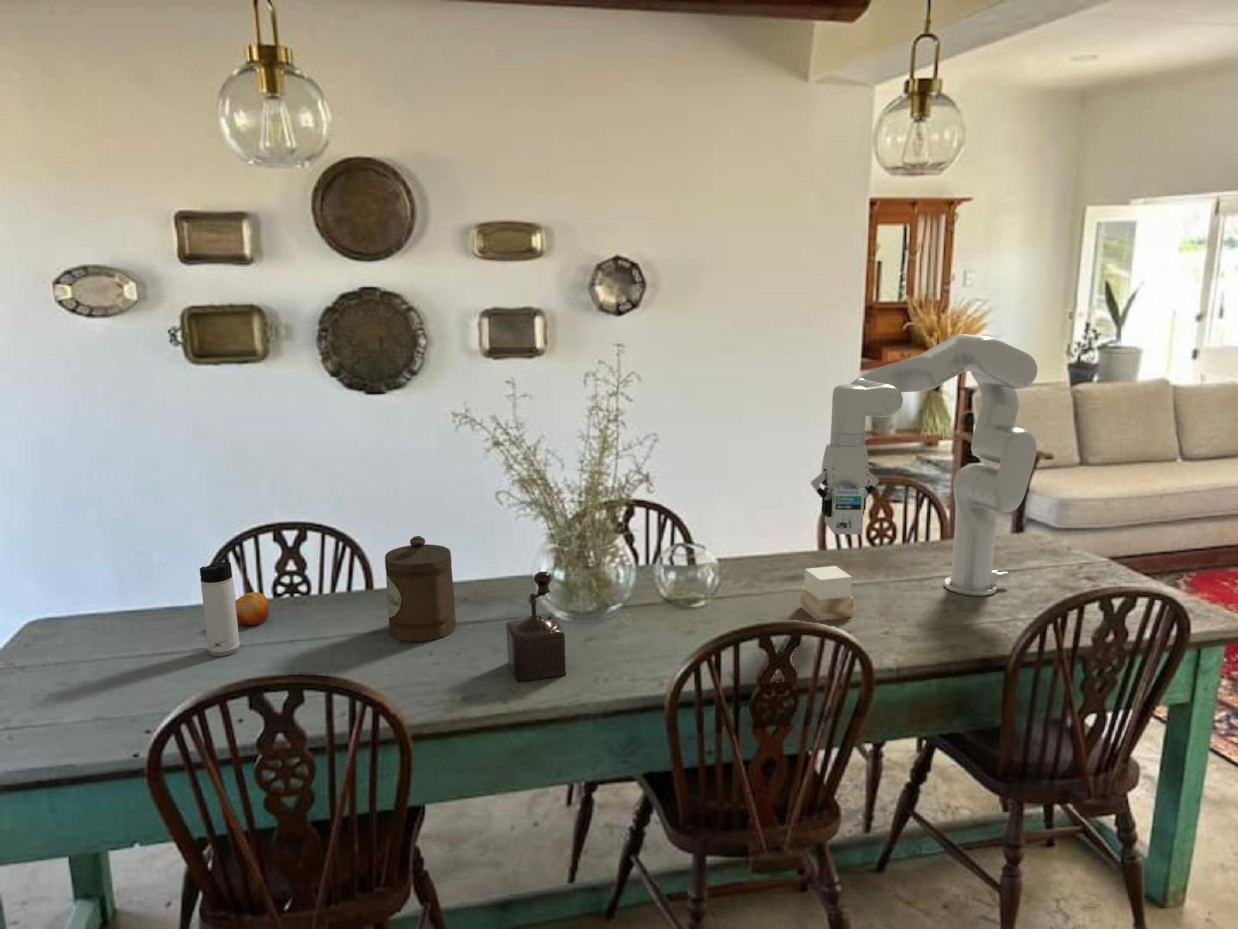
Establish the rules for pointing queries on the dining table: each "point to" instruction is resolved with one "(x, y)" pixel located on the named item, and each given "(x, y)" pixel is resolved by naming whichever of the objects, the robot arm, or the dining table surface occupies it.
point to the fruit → (252, 608)
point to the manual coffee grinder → (536, 641)
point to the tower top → (827, 583)
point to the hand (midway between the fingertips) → (843, 514)
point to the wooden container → (420, 591)
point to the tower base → (826, 607)
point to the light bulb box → (846, 510)
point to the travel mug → (219, 609)
